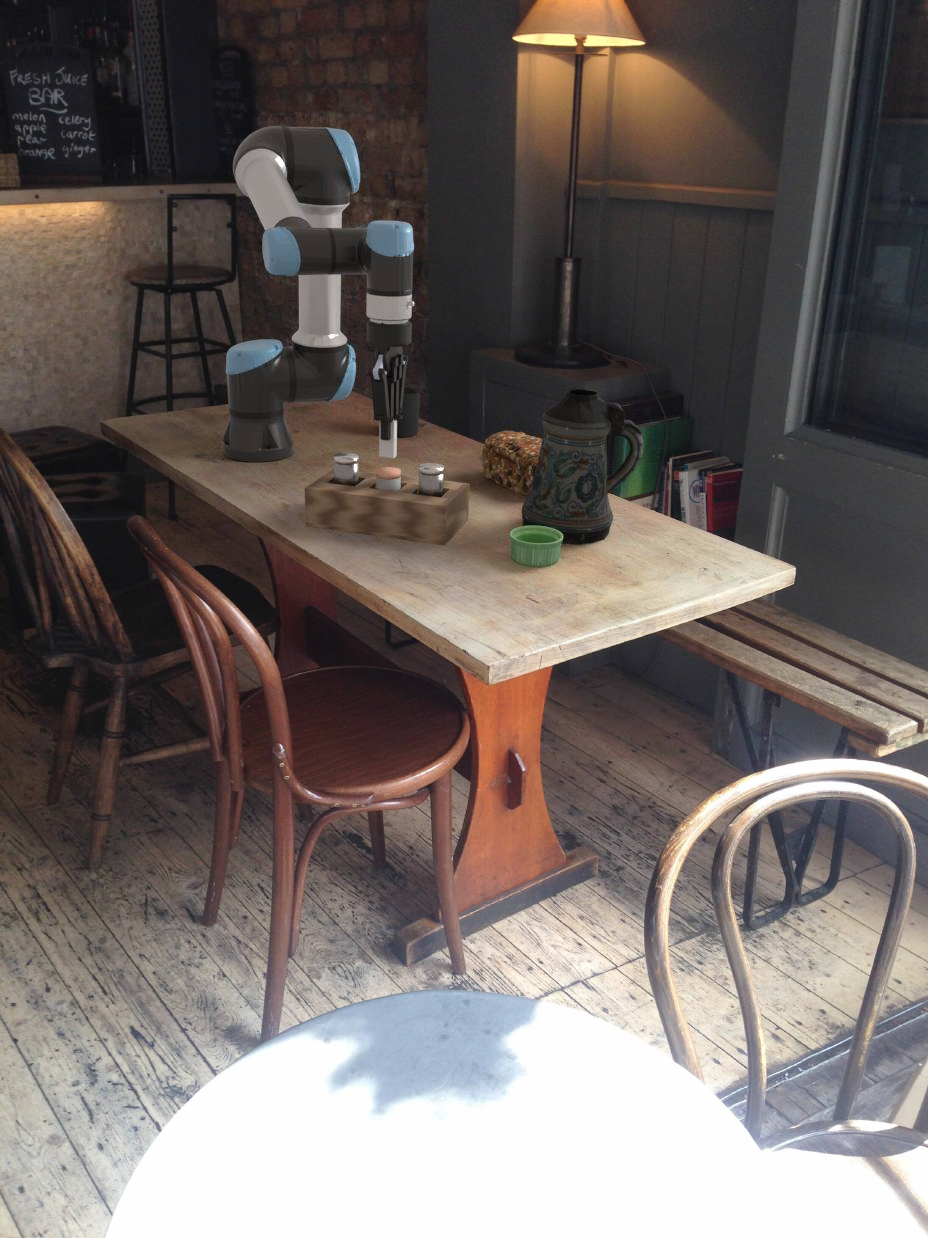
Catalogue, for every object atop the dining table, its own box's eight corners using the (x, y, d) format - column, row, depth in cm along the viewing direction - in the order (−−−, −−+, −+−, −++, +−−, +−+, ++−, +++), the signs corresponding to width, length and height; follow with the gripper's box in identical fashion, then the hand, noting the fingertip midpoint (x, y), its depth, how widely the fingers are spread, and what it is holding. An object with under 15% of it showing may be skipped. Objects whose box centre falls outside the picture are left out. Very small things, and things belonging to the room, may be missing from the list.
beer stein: (506, 519, 202) (513, 383, 191) (600, 510, 208) (612, 378, 198) (543, 549, 188) (553, 405, 177) (643, 539, 194) (658, 399, 184)
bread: (479, 478, 225) (481, 430, 221) (520, 471, 231) (523, 424, 226) (536, 503, 211) (539, 453, 207) (578, 495, 217) (582, 446, 213)
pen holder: (426, 431, 257) (427, 389, 253) (407, 440, 249) (408, 396, 245) (391, 426, 261) (391, 384, 256) (371, 434, 253) (371, 391, 249)
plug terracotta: (372, 507, 195) (372, 472, 192) (381, 500, 198) (381, 465, 196) (395, 510, 193) (395, 475, 191) (403, 503, 197) (404, 468, 195)
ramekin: (529, 545, 190) (530, 521, 188) (572, 558, 184) (574, 534, 183) (497, 558, 183) (498, 534, 181) (540, 573, 178) (542, 547, 176)
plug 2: (414, 504, 192) (415, 468, 189) (422, 496, 196) (423, 461, 193) (438, 507, 191) (439, 471, 188) (446, 500, 195) (447, 464, 192)
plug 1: (330, 493, 196) (329, 457, 193) (340, 486, 200) (339, 451, 197) (353, 496, 195) (353, 460, 192) (362, 489, 199) (362, 454, 196)
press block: (305, 525, 194) (304, 487, 192) (336, 502, 207) (336, 466, 204) (444, 545, 188) (445, 506, 185) (468, 520, 200) (469, 483, 197)
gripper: (396, 327, 176) (394, 469, 186) (423, 315, 187) (420, 449, 197) (353, 323, 178) (353, 463, 188) (382, 311, 189) (381, 444, 199)
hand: (387, 456), depth 193 cm, fingers closed
